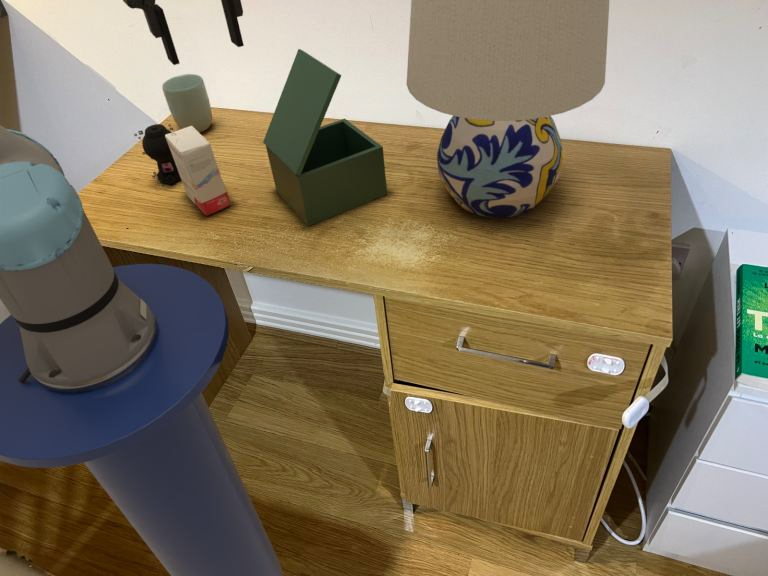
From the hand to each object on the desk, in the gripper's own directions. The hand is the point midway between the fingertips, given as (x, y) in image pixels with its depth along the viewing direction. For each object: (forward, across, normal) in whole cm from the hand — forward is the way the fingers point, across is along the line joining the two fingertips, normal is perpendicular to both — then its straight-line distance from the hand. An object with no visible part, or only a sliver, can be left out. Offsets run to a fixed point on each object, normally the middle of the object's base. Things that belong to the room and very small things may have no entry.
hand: (206, 52), depth 77 cm
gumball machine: (+27, +7, -23) cm, 36 cm away
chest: (+27, -14, 0) cm, 31 cm away
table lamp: (+27, -36, +17) cm, 48 cm away
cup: (+27, -3, -39) cm, 48 cm away
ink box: (+27, +4, -11) cm, 30 cm away
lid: (+12, -11, 0) cm, 17 cm away
